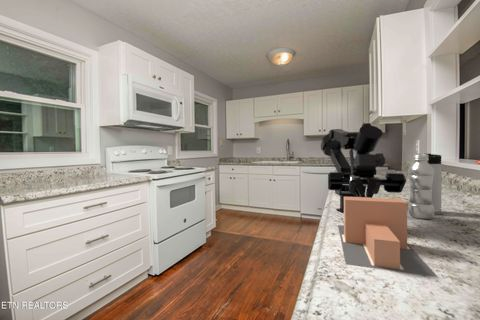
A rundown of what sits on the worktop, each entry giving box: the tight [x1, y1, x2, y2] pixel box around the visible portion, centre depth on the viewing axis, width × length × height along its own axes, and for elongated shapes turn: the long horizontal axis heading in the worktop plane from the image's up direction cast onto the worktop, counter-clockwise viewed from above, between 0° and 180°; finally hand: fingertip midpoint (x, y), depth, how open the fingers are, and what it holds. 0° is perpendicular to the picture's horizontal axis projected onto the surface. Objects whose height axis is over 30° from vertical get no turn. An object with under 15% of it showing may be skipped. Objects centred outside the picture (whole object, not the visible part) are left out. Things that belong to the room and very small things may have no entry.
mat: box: [337, 224, 439, 278], centre depth 50 cm, size 24×14×1 cm, turn 160°
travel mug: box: [427, 153, 443, 216], centre depth 76 cm, size 6×7×20 cm
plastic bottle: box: [407, 153, 435, 220], centre depth 69 cm, size 6×7×20 cm
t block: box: [343, 197, 408, 269], centre depth 47 cm, size 14×12×10 cm
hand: (367, 208), depth 57 cm, fingers closed
